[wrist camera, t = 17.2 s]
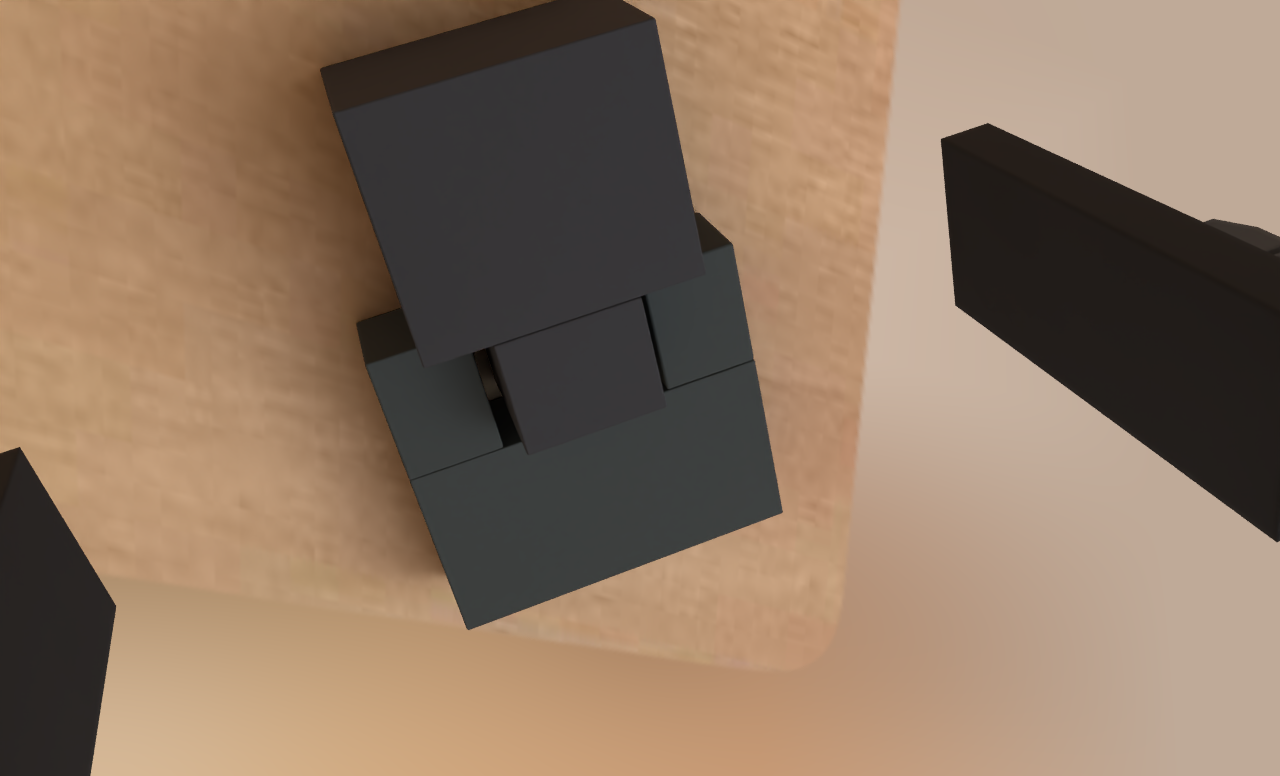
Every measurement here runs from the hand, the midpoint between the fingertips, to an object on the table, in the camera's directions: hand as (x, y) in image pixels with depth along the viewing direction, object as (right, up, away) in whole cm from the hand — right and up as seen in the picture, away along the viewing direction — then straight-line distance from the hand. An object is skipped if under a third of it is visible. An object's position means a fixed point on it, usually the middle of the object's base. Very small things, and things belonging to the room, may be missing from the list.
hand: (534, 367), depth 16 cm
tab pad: (-2, +5, +18) cm, 19 cm away
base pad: (-1, -1, +22) cm, 22 cm away
